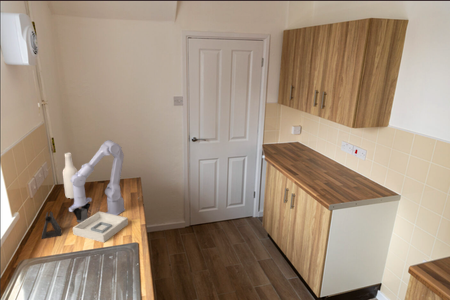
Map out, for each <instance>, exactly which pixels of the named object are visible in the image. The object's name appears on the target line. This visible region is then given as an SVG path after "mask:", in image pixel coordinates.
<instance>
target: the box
mask: <svg viewBox="0 0 450 300" xmlns="http://www.w3.org/2000/svg"><path fill="white" fill-rule="evenodd" d="M128 225H129V219H128V217H127V216H123V215H122V216H121V215H113V214H109V213H106V212H104V211H96V213H94V214H93V215H91V216H89V217H88V219H86V220H84V221H83V222H81V223H80V222H78V223H77V225H75V226H73V227H72V234H73V235H75V236H77V237H82V238H85V239H89V240H93V241H97V242H100V243H105V242H106V241H108V240H109V239H110V238H112V237H113V236H115V234H117V233H119V232H120V231H121V230H122V229H123V228H125V227H127V226H128Z"/></svg>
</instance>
